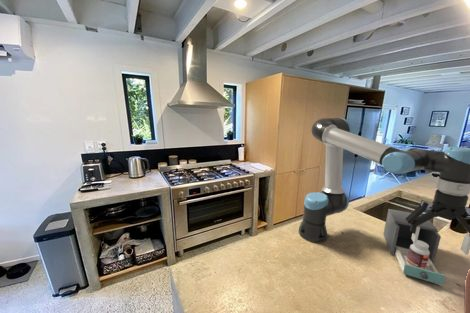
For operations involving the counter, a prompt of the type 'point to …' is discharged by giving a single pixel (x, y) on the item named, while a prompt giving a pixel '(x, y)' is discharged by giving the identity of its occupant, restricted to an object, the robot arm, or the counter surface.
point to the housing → (409, 233)
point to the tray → (425, 274)
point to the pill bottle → (418, 254)
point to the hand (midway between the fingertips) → (437, 246)
